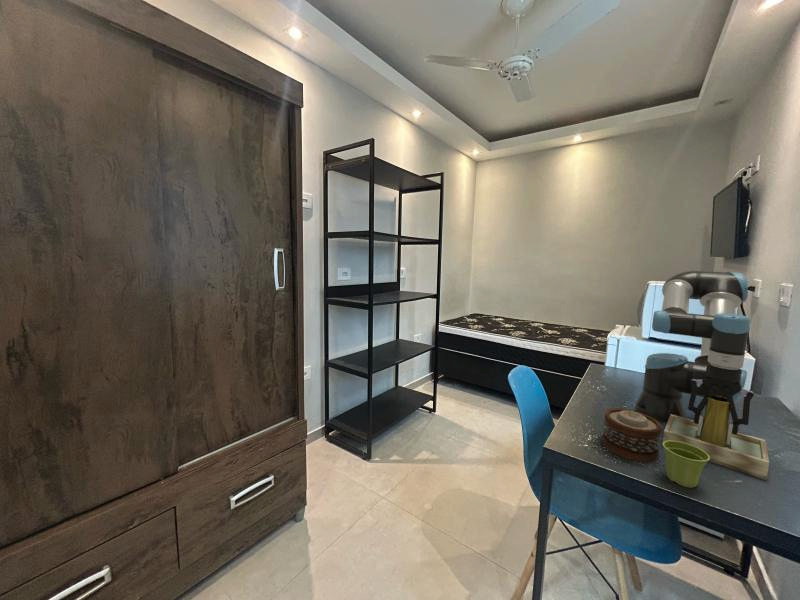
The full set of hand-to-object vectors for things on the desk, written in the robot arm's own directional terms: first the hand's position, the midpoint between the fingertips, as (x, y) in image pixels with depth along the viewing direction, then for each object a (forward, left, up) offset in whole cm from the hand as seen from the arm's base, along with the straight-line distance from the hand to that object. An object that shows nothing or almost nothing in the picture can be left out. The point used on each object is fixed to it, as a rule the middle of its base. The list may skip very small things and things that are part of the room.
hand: (713, 438), depth 100 cm
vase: (0, 0, -2) cm, 2 cm away
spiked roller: (-18, -17, -4) cm, 25 cm away
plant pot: (-5, -25, -4) cm, 26 cm away
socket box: (0, 0, -4) cm, 4 cm away
